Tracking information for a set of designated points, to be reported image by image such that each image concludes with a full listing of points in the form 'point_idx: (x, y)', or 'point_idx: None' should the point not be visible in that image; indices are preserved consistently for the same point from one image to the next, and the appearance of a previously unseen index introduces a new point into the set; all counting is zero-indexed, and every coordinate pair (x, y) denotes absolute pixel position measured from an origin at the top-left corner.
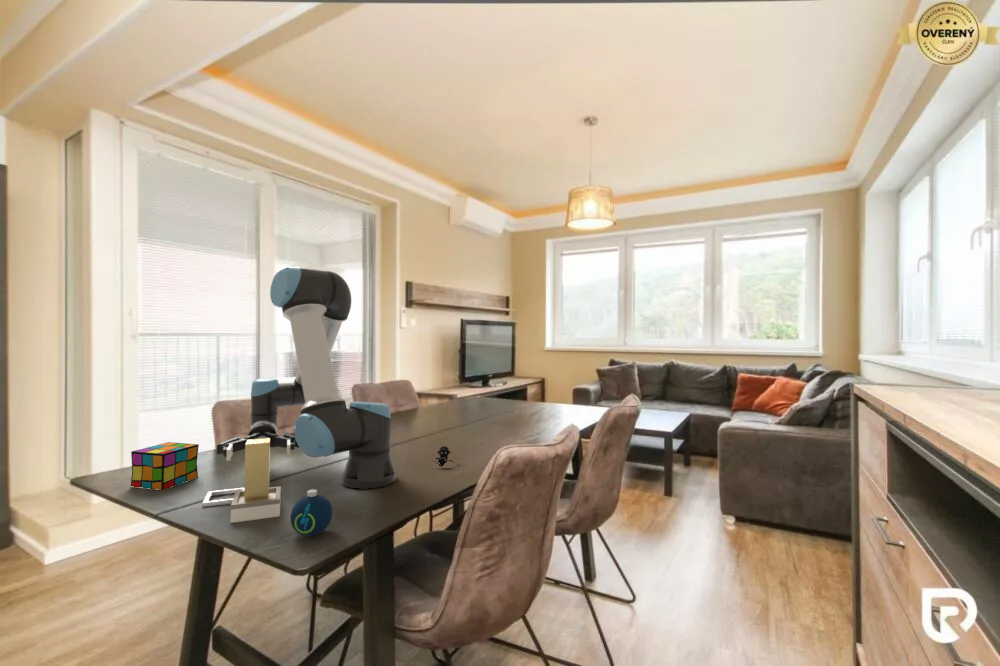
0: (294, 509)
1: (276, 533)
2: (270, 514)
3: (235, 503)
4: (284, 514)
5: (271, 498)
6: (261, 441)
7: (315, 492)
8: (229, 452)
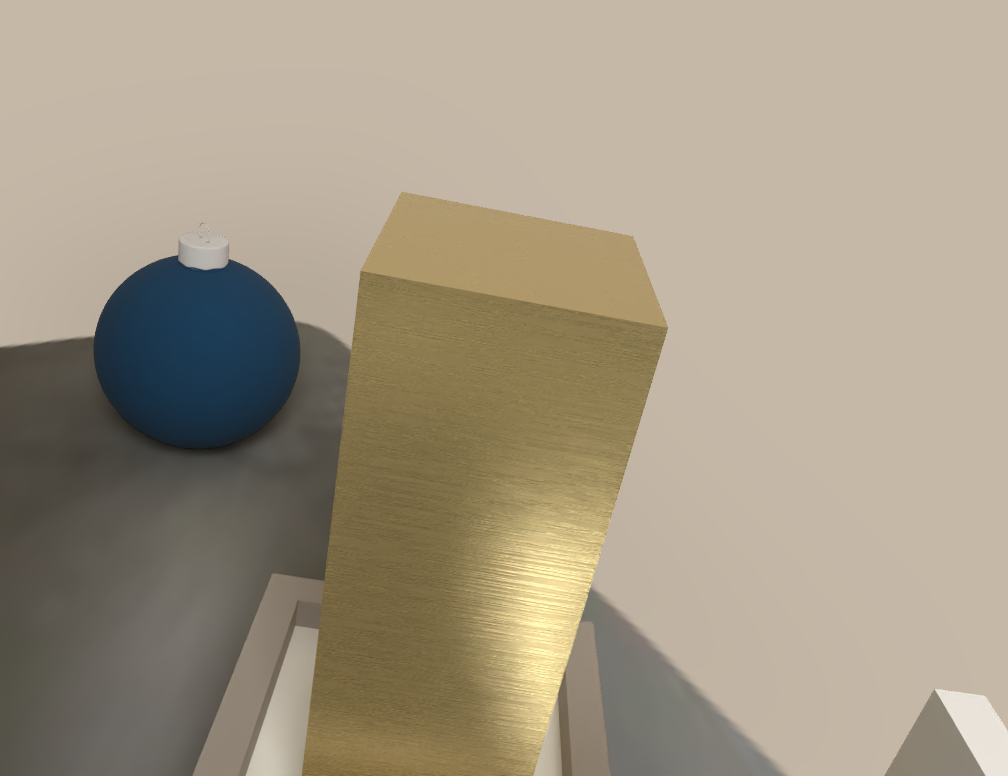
0: (290, 311)
1: None
2: None
3: None
4: (224, 686)
5: (300, 719)
6: (479, 231)
7: (194, 235)
8: (922, 722)
